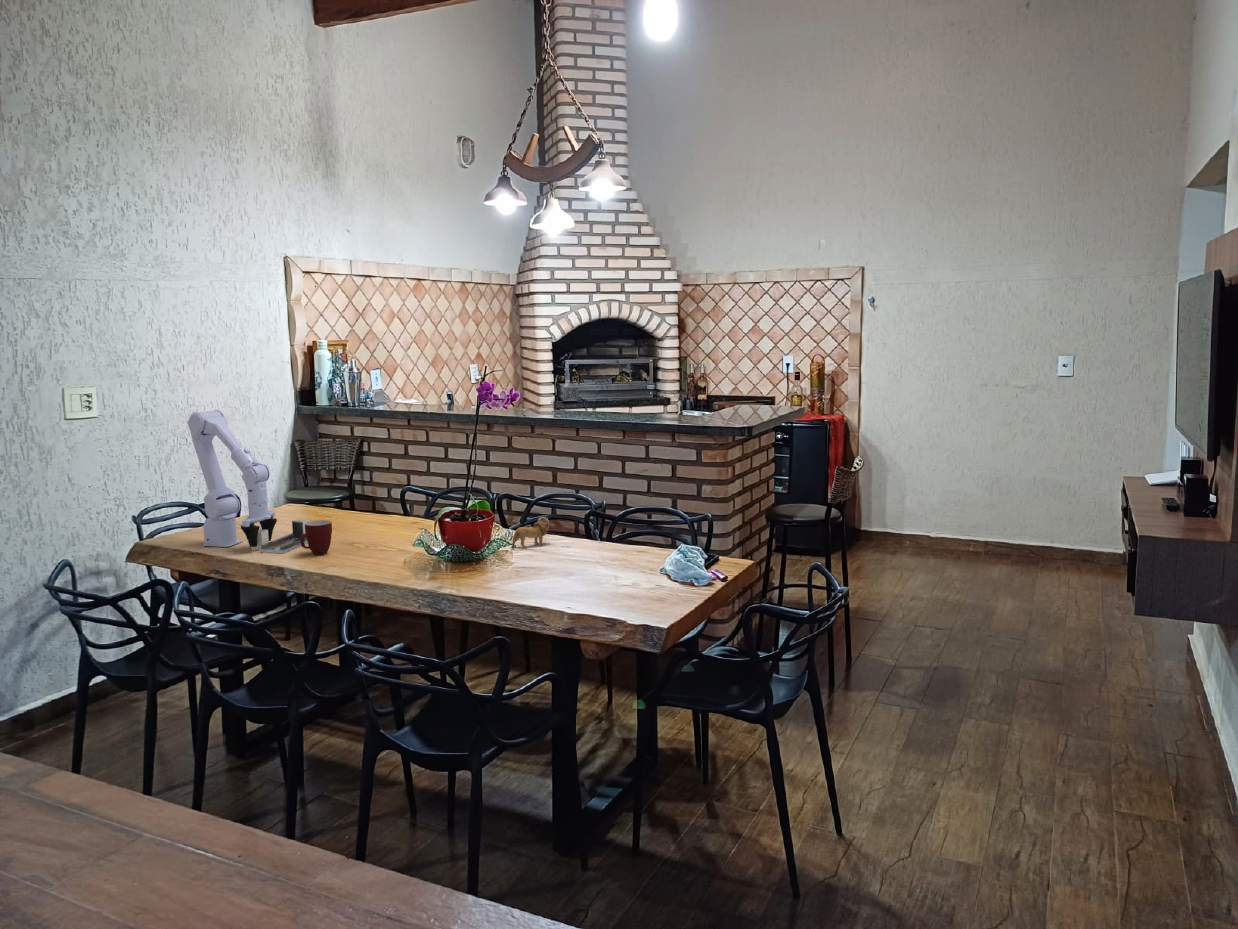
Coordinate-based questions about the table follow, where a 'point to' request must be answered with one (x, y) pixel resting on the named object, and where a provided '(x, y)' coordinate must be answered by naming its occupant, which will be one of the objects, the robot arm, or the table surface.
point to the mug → (317, 536)
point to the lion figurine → (532, 532)
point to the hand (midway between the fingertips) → (260, 543)
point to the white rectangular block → (261, 539)
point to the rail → (287, 539)
